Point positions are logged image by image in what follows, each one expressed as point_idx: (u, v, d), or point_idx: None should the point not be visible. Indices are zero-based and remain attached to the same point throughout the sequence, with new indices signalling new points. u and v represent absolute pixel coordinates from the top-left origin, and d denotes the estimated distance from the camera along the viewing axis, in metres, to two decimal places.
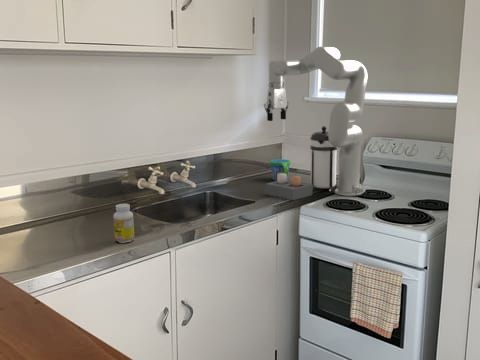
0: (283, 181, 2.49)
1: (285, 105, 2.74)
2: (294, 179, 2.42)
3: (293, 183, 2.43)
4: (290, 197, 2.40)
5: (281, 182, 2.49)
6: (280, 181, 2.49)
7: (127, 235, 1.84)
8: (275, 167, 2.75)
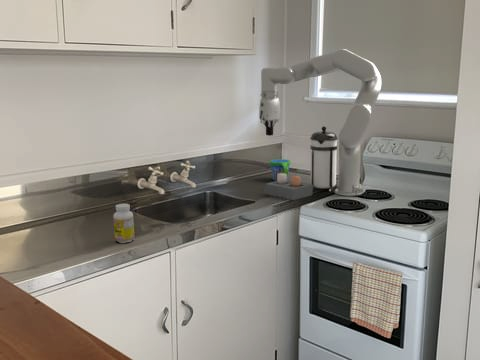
0: (283, 181, 2.49)
1: (279, 116, 2.51)
2: (294, 179, 2.42)
3: (293, 183, 2.43)
4: (290, 197, 2.40)
5: (281, 182, 2.49)
6: (280, 181, 2.49)
7: (127, 235, 1.84)
8: (275, 167, 2.75)
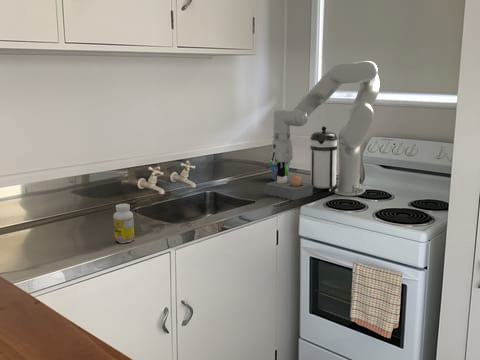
0: (283, 183, 2.49)
1: (291, 158, 2.49)
2: (294, 179, 2.42)
3: (293, 183, 2.43)
4: (290, 197, 2.40)
5: None
6: (280, 183, 2.49)
7: (127, 235, 1.84)
8: (275, 167, 2.75)
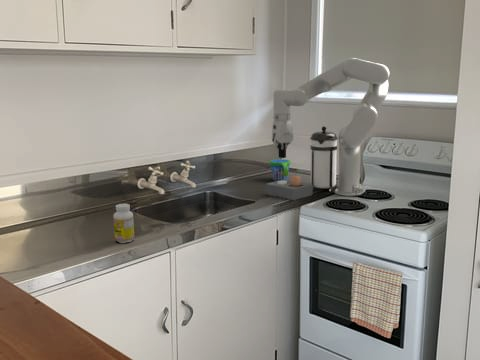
0: None
1: (292, 138, 2.47)
2: (294, 179, 2.42)
3: (293, 183, 2.43)
4: (290, 197, 2.40)
5: None
6: None
7: (127, 235, 1.84)
8: (275, 167, 2.75)
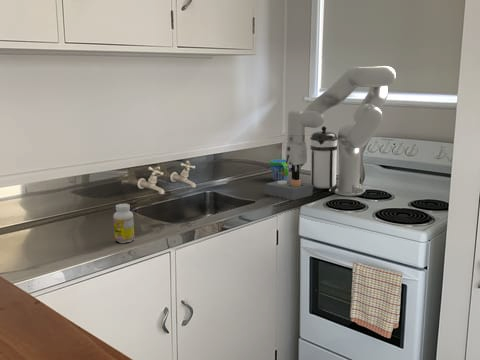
0: None
1: (305, 160, 2.43)
2: (294, 182, 2.43)
3: (293, 186, 2.43)
4: (290, 197, 2.40)
5: None
6: None
7: (127, 235, 1.84)
8: (275, 167, 2.75)
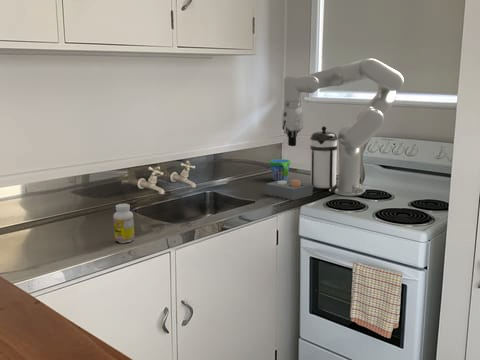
0: None
1: (302, 126, 2.43)
2: (294, 183, 2.43)
3: None
4: (290, 197, 2.40)
5: None
6: None
7: (127, 235, 1.84)
8: (275, 167, 2.75)
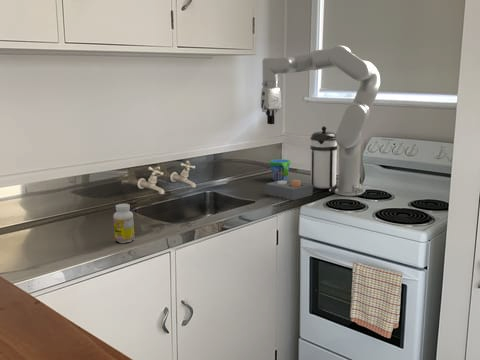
0: None
1: (280, 105, 2.56)
2: (294, 183, 2.43)
3: None
4: (290, 197, 2.40)
5: None
6: None
7: (127, 235, 1.84)
8: (275, 167, 2.75)
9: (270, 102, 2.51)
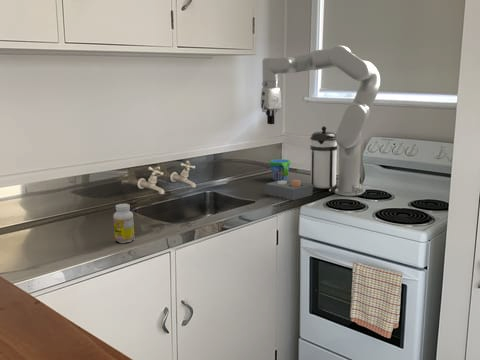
0: None
1: (280, 105, 2.56)
2: (294, 183, 2.43)
3: None
4: (290, 197, 2.40)
5: None
6: None
7: (127, 235, 1.84)
8: (275, 167, 2.75)
9: (270, 102, 2.51)
